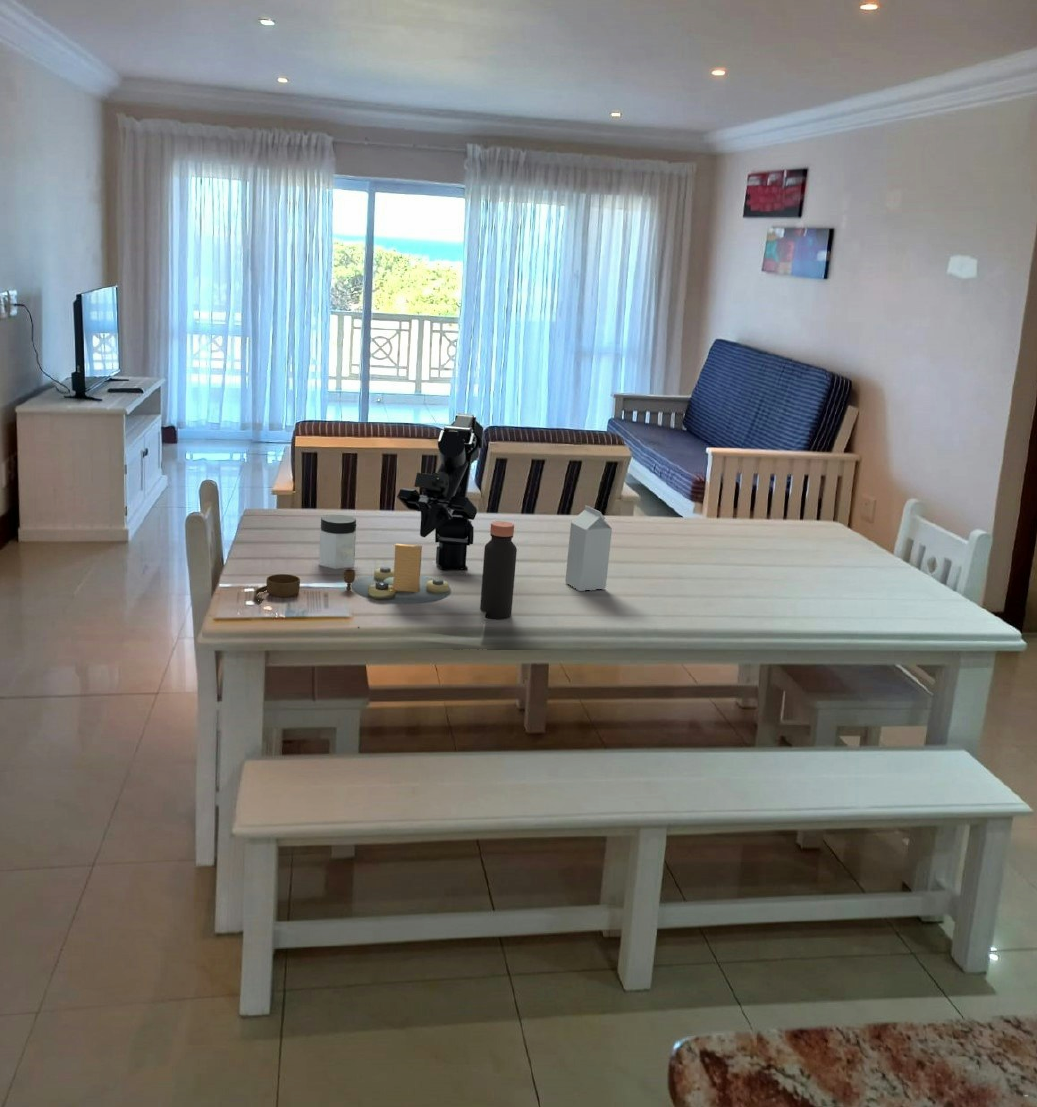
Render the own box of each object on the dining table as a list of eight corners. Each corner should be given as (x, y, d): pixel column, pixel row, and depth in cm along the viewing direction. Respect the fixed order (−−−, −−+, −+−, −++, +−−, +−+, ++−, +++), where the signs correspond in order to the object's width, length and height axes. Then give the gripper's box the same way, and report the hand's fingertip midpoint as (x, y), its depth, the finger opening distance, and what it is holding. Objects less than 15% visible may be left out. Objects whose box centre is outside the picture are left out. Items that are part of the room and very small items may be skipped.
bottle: (489, 621, 228) (497, 528, 222) (473, 611, 233) (480, 520, 228) (517, 617, 231) (524, 526, 226) (500, 608, 237) (508, 519, 231)
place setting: (267, 585, 240) (267, 560, 239) (356, 594, 240) (357, 568, 238) (242, 610, 223) (243, 582, 222) (339, 619, 223) (340, 592, 221)
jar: (326, 574, 250) (328, 524, 247) (312, 565, 256) (313, 515, 253) (361, 571, 255) (363, 521, 252) (347, 562, 261) (349, 513, 258)
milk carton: (579, 592, 253) (587, 512, 248) (564, 583, 259) (572, 505, 254) (605, 590, 256) (614, 511, 251) (590, 581, 262) (598, 504, 257)
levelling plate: (436, 577, 255) (437, 563, 254) (462, 607, 235) (463, 592, 234) (343, 579, 248) (343, 565, 247) (361, 610, 228) (361, 594, 227)
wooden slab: (365, 598, 231) (367, 545, 228) (370, 589, 237) (372, 538, 234) (416, 602, 231) (419, 550, 228) (420, 594, 236) (423, 543, 233)
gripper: (399, 453, 244) (371, 512, 239) (467, 462, 235) (439, 524, 229) (422, 478, 253) (395, 537, 248) (488, 488, 244) (462, 549, 238)
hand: (422, 536), depth 241 cm, fingers closed
